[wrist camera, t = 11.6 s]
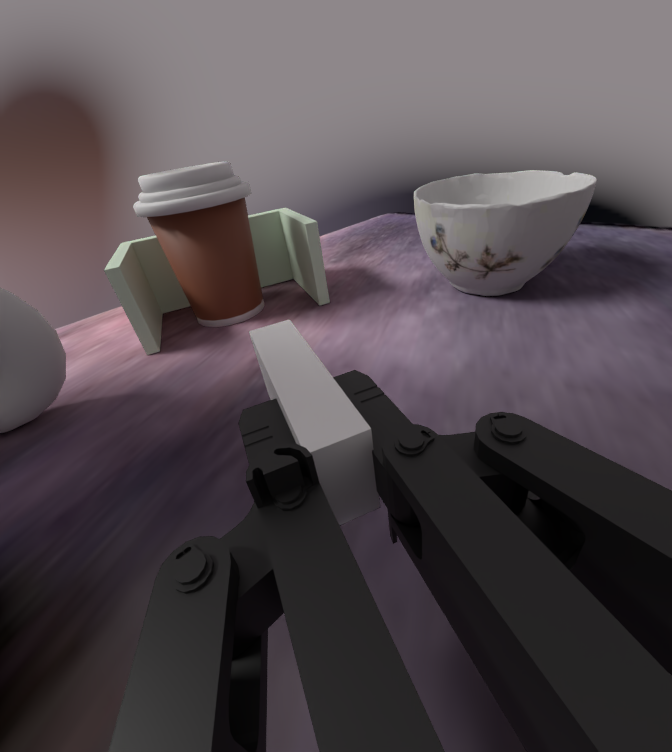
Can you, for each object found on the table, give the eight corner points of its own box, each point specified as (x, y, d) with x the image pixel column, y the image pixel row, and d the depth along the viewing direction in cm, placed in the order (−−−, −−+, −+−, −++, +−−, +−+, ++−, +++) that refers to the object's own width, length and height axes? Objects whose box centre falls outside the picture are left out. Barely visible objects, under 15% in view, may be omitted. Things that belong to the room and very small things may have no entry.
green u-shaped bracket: (147, 355, 29) (103, 270, 25) (152, 312, 37) (120, 243, 33) (329, 302, 33) (316, 221, 29) (298, 274, 41) (285, 207, 37)
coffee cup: (211, 295, 39) (167, 169, 32) (290, 290, 37) (260, 154, 30) (163, 335, 32) (93, 185, 25) (257, 332, 30) (208, 166, 23)
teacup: (521, 331, 24) (543, 202, 20) (385, 294, 33) (378, 198, 28) (609, 263, 31) (640, 157, 27) (478, 247, 40) (485, 164, 35)
